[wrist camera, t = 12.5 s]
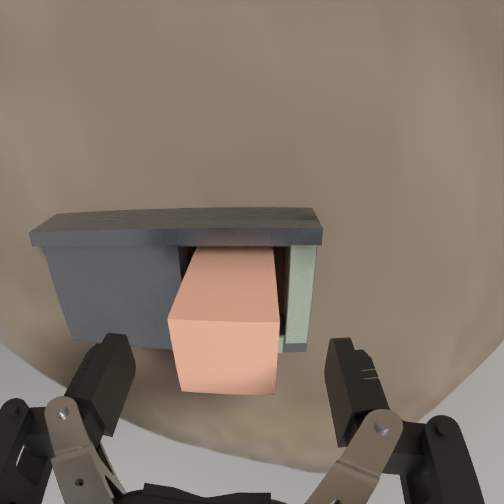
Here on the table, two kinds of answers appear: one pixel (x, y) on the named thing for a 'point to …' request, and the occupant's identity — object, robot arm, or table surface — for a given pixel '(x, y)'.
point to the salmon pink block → (227, 321)
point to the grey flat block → (167, 265)
